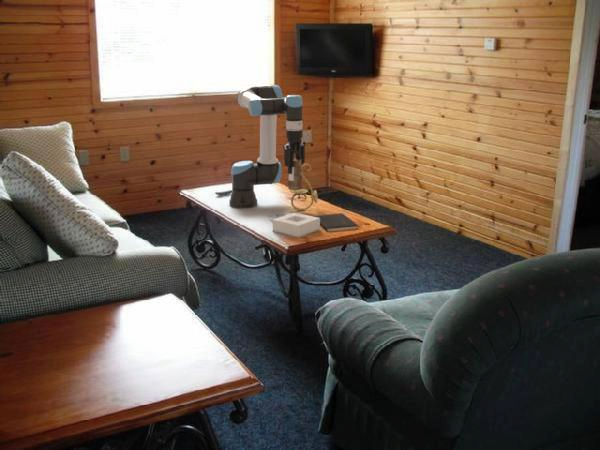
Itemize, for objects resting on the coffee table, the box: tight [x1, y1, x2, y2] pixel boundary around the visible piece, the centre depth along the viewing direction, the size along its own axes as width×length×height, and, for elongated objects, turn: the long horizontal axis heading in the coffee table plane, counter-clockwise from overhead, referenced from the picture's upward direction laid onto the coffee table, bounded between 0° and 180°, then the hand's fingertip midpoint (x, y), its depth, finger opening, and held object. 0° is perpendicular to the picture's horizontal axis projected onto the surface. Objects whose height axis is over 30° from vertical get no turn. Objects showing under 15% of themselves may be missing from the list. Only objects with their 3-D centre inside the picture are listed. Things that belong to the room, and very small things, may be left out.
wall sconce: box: [289, 163, 318, 211], centre depth 368 cm, size 14×10×25 cm
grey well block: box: [272, 212, 321, 239], centre depth 334 cm, size 16×16×6 cm
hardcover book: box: [312, 212, 359, 233], centre depth 346 cm, size 16×23×2 cm
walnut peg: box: [287, 158, 303, 191], centre depth 328 cm, size 4×4×14 cm
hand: (294, 179), depth 328 cm, fingers closed on walnut peg, 4 cm apart
